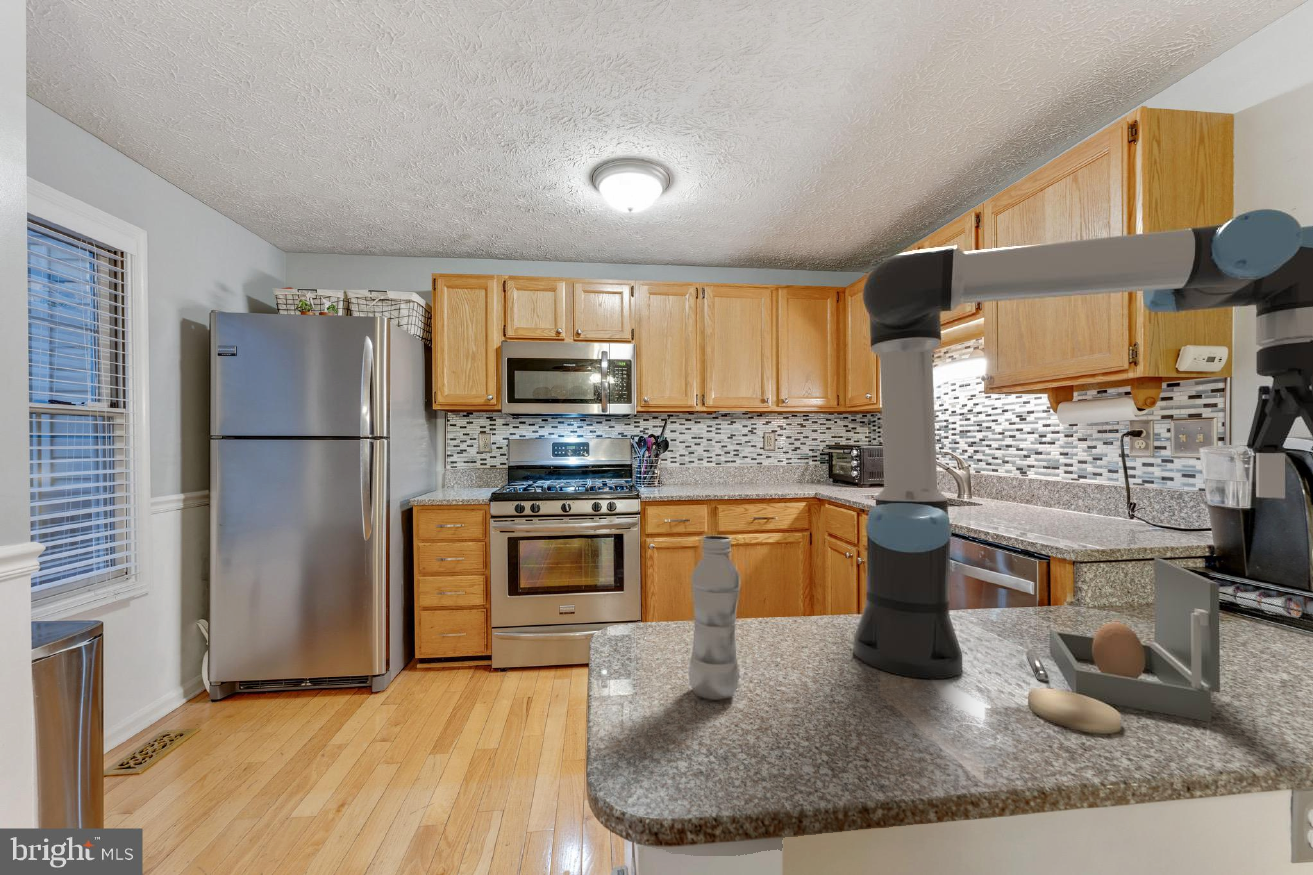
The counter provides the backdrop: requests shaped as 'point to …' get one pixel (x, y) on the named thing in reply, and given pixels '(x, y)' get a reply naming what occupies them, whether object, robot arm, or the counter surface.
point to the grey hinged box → (1160, 651)
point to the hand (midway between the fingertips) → (1298, 500)
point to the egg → (1118, 651)
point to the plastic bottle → (714, 621)
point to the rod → (1037, 665)
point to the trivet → (1074, 711)
